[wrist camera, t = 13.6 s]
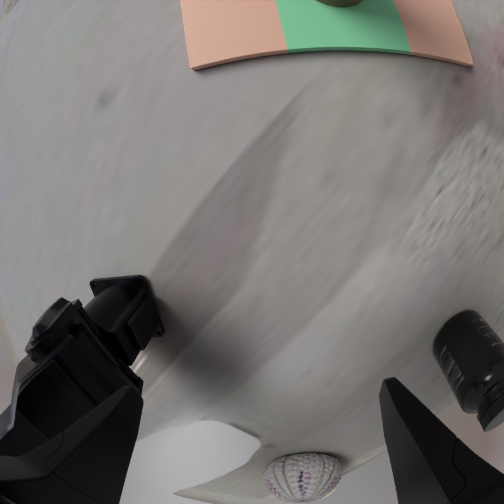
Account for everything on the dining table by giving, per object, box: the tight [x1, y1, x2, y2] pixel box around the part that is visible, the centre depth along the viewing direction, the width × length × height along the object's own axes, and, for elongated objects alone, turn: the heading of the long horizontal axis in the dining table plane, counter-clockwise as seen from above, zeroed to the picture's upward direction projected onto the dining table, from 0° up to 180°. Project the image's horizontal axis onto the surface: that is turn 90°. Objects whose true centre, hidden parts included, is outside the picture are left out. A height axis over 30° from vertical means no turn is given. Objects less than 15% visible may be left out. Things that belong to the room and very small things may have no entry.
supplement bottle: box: [433, 310, 504, 432], centre depth 16 cm, size 7×7×12 cm
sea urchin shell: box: [263, 452, 343, 503], centre depth 31 cm, size 13×14×8 cm
